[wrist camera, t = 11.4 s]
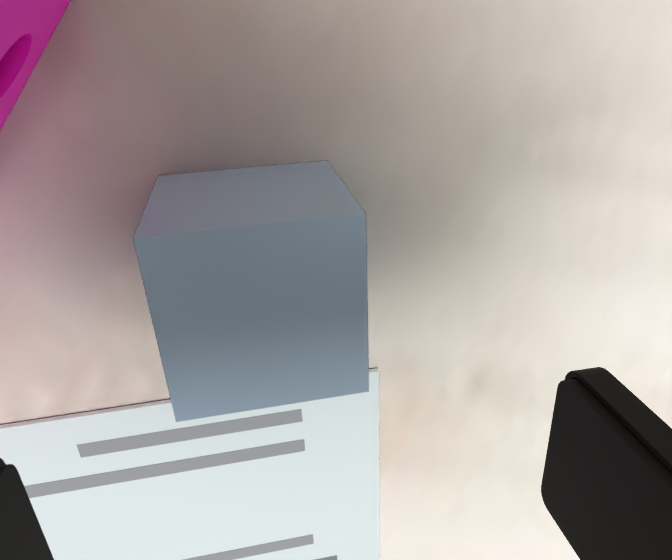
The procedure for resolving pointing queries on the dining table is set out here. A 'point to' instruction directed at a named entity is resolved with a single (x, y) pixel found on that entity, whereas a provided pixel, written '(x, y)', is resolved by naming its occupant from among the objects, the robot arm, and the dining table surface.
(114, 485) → the letter
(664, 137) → the dining table surface
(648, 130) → the dining table surface
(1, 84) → the toy block
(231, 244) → the slate cube
